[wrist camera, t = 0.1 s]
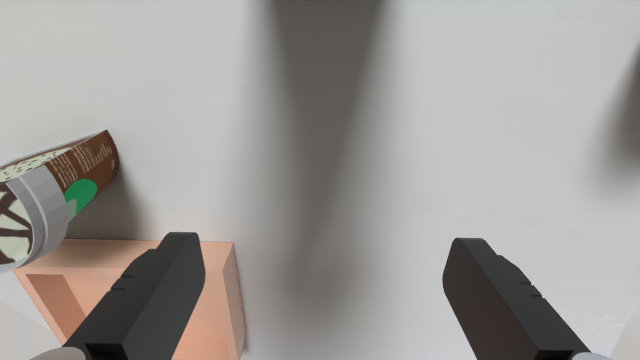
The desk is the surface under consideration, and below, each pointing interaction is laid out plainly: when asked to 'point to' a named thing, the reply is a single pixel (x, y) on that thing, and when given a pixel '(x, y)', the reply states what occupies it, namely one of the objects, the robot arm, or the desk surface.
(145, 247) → the terracotta dish
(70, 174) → the food container
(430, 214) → the desk surface
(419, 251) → the desk surface
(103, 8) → the desk surface
